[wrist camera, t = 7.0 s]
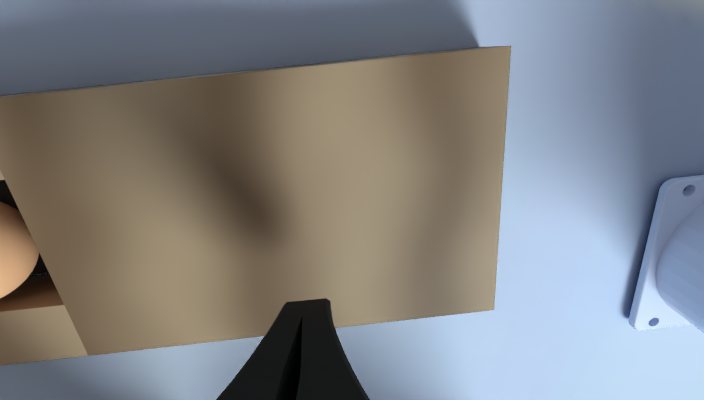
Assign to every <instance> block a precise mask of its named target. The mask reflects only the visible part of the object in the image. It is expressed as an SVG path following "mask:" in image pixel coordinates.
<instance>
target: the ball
mask: <svg viewBox="0 0 704 400" xmlns="http://www.w3.org/2000/svg"><path fill="white" fill-rule="evenodd" d="M38 256H39V251H38V249H37V247H36V244H35V242H34V240H33V238H32V236H31V234H30V232H29V230H28V228H27V225H26V223H25V221H24V219H23V217H22V215H21V213H20V212H19V211H18V210H17V209H15V208H13V207H11V206H10V205H8V204H5V203H3V202H0V298H2V297H4V296H6V295H7V294H9V293H10V292H12V291H13V290H15V289H16V288H17V287H19V286H20V285H21V284H22V283H23V282H24V281H25V280H26V279H27V278H28V276H29V275H30V274H31V272H32V271H33V269H34V267H35V265H36V263H37V260H38Z"/></svg>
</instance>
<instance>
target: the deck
mask: <svg viewBox="0 0 704 400" xmlns="http://www.w3.org/2000/svg"><path fill="white" fill-rule="evenodd" d="M510 53H511V46H495V47H476V48H466V49H456V50H446V51H436V52H426V53H416V54H406V55H397V56H387V57H377V58H367V59H357V60H347V61H337V62H327V63H318V64H308V65H298V66H288V67H278V68H268V69H258V70H248V71H239V72H229V73H219V74H209V75H199V76H189V77H179V78H170V79H160V80H150V81H140V82H130V83H120V84H110V85H100V86H91V87H81V88H71V89H61V90H51V91H41V92H31V93H21V94H12V95H2V96H0V202H3V203H5V204H8V205H10V206H11V207H13V208H15V209H17V210H18V211H19V212H20V213H21V215H22V217H23V219H24V221H25V223H26V225H27V228H28V230H29V232H30V234H31V236H32V238H33V240H34V242H35V244H36V247H37V249H38V251H39V256H38V260H37V263H36V265H35V267H34V269H33V271H32V272H31V274H41V273H47V272H49V274H50V275H40V276H31V277H28V278H27V279H26V280H25V281H24V282H23V283H22V284H21V285H20V286H19V287H17V288H16V289H15V290H13V291H12V292H10V293H9V294H7V295H6V296H4V297H2V298H0V366H1V365H10V364H19V363H27V362H36V361H45V360H54V359H63V358H72V357H81V356H90V355H98V354H107V353H116V352H125V351H134V350H143V349H152V348H161V347H169V346H178V345H187V344H196V343H205V342H214V341H223V340H232V339H241V338H249V337H258V336H265V335H266V333H267V332H268V330H269V329H270V327H271V326H272V324H273V322H274V321H275V319H276V318H277V316H278V314H279V312H280V311H281V309H282V307H283V306H284V304H285V303H286V302H292V301H303V300H313V299H323V298H327V299H328V300H329V301H330V303H331V310H332V318H333V323H334V327H335V328H338V327H347V326H356V325H365V324H374V323H383V322H391V321H400V320H409V319H418V318H427V317H436V316H445V315H454V314H462V313H471V312H480V311H489V310H494V302H495V287H496V271H497V256H498V240H499V224H500V209H501V193H502V178H503V162H504V146H505V131H506V115H507V100H508V84H509V68H510Z"/></svg>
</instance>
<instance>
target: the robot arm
mask: <svg viewBox="0 0 704 400" xmlns="http://www.w3.org/2000/svg"><path fill="white" fill-rule="evenodd" d="M685 187H687V188H686V190H685V191H683V190H684V188H685ZM629 324H630V325H631V326H632V327H633V328H634V329H636V330H649V329H658V328H667V327H676V326H684V325H694V326H695V327H697V328H698V329H699V330H701V331H702V332H703V333H704V175H698V176H688V177H679V178H672V179H669V180H667V181H666V182H664V183H663V184H662V186H661V187H660V190H659V194H658V198H657V202H656V206H655V211H654V215H653V219H652V223H651V227H650V232H649V236H648V240H647V244H646V249H645V253H644V257H643V261H642V265H641V270H640V274H639V278H638V282H637V287H636V291H635V295H634V299H633V303H632V308H631V312H630V316H629ZM216 400H370V399H369V398H368V396H367V394H366V393H365V391H364V389H363V388H362V386H361V384H360V383H359V381H358V379H357V377H356V375H355V373H354V371H353V370H352V368H351V365H350V363H349V361H348V359H347V357H346V355H345V353H344V351H343V348H342V346H341V343H340V341H339V338H338V336H337V333H336V330H335V327H334V323H333V318H332V310H331V303H330V301H329V300H328V299H327V298H323V299H313V300H303V301H292V302H286V303H285V304H284V306H283V307H282V309H281V311H280V312H279V314H278V316H277V318H276V319H275V321H274V322H273V324H272V326H271V327H270V329H269V330H268V332H267V333H266V335H265V336H264V338H263V339H262V341H261V342H260V344H259V345H258V347H257V348H256V350H255V351H254V353H253V354H252V355H251V357H250V358H249V359H248V361H247V362H246V363H245V365H244V366H243V367H242V369H241V370H240V371H239V373H238V374H237V375H236V376H235V378H234V379H233V380H232V382H231V383H230V384H229V385H228V386H227V388H226V389H225V390H224V391H223V392H222V393H221V395H220V396H219V397H218V398H217V399H216Z"/></svg>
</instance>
